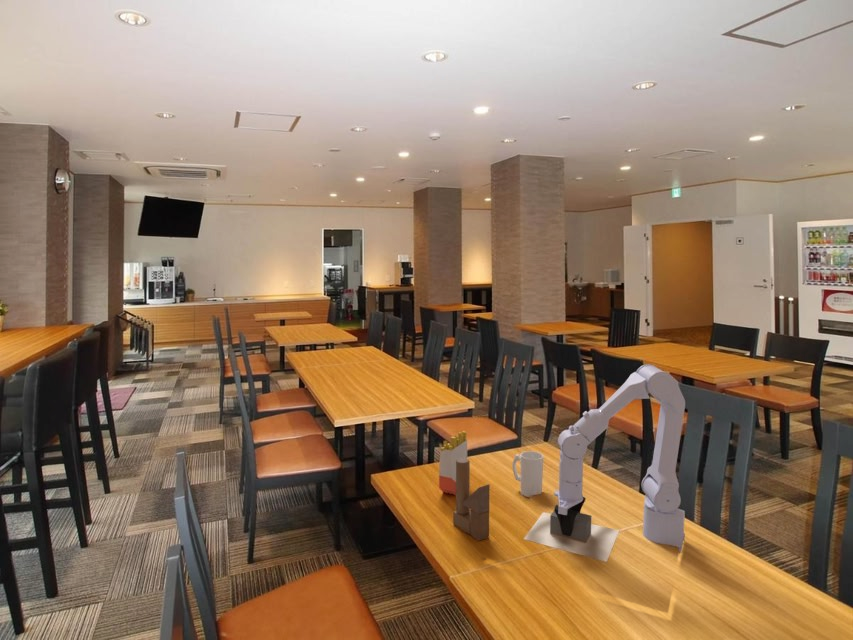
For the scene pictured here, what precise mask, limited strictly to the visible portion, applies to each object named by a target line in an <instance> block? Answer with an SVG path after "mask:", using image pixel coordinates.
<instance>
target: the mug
mask: <svg viewBox="0 0 853 640" xmlns="http://www.w3.org/2000/svg"><path fill="white" fill-rule="evenodd" d="M518 461H520V463H519V464H520V467H519V469H520V474H519V473H518V470H517V463H518ZM543 470H544V455H543V454H542V453H541V452H538V451H535V450H534V451H532V450H528V451H522V452H520V454H518V453H516V454H514V458H513V460H512V471H513V475H514V479H515V481H519V482H520V494H521V495H522V496H523V495H524V496H523V497H526V498H530V497H531V498H532V497H533V496H536V495H541V493H542V492H543V479H544V478H543V475H544V474H543V473H544V471H543Z"/></svg>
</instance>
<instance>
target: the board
mask: <svg viewBox="0 0 853 640" xmlns="http://www.w3.org/2000/svg"><path fill="white" fill-rule="evenodd" d="M551 514H552V513H549V512H544V511H543V512H542V513H541V514H540V516H539V517H538V518H537V520H536V521H535V523H534V524H533V525H532V527H531V528H530V529H529V531H528V532H527V533H526V535H525V536H524V538H523V540H525V541H528V542H532V543H536V544H540V545H543V546H547V547H550V548H553V549H557V550H561V551H566V552H569V553H573V554H576V555H580V556H582V557H586V558H591V559H594V560H597V561H598V560H599V561H601V562H606V563H607V562H608V560H609V557H610V554H611V552H612V550H613V547H614V544H615V542H616V540H617V537H618V535H619V533H620V529H619V530H618V529H614V528H610V527H607V526H602V525H598V524H593V523H591V535H590V537H589V539H588V541H587V543H582V542H578V541H574V540H571V539H567V538H563V537H559V536H556V535H552V534H550V516H551Z"/></svg>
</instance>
